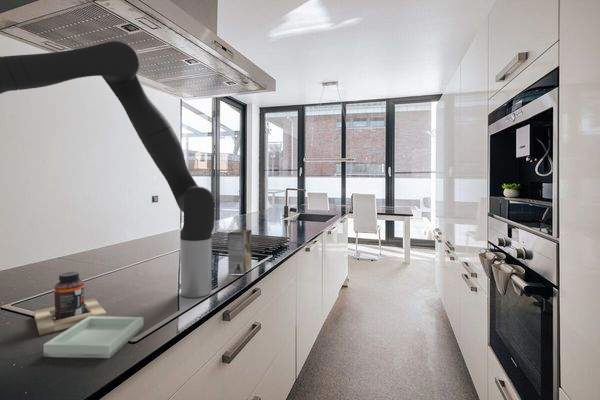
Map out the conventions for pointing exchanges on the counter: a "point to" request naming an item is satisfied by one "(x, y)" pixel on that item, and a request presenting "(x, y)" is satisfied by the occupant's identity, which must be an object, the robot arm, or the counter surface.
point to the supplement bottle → (69, 296)
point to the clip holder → (49, 325)
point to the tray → (94, 337)
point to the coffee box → (239, 251)
